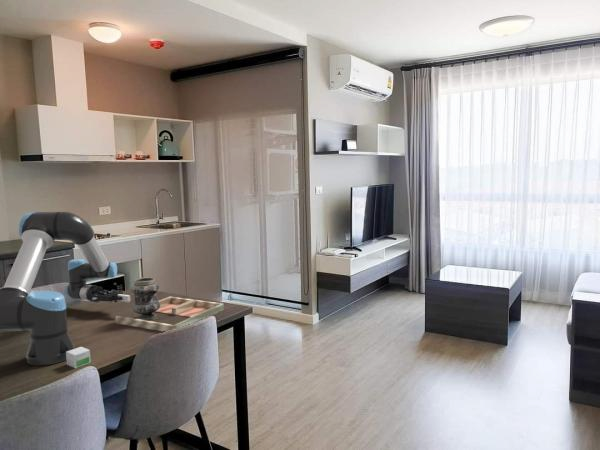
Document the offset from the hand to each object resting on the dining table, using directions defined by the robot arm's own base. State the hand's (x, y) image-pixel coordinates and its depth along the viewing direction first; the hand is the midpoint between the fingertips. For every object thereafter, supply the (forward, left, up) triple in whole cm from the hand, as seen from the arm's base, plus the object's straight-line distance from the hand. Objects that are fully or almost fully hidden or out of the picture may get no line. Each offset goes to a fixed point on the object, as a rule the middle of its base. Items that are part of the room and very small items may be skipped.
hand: (129, 298), depth 210 cm
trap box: (+18, -8, -8) cm, 21 cm away
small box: (-16, -50, -8) cm, 53 cm away
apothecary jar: (+7, -7, -8) cm, 13 cm away
